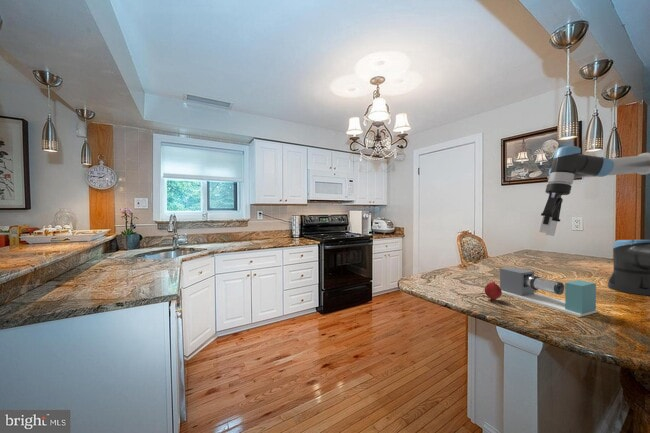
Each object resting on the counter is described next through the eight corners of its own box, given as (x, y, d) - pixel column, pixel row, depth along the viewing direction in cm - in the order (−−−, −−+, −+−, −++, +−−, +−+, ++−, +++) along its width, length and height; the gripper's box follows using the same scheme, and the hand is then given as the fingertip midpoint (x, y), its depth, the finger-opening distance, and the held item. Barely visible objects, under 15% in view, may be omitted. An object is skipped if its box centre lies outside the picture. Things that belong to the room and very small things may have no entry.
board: (514, 289, 113) (514, 287, 113) (597, 312, 87) (597, 309, 87) (497, 292, 109) (497, 290, 109) (579, 316, 83) (579, 314, 83)
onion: (485, 301, 99) (485, 281, 98) (483, 296, 104) (483, 278, 104) (502, 303, 96) (502, 283, 96) (500, 298, 101) (500, 279, 101)
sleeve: (511, 287, 112) (511, 267, 112) (534, 293, 104) (534, 271, 104) (500, 289, 110) (499, 268, 110) (521, 296, 101) (521, 273, 101)
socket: (579, 305, 90) (579, 279, 90) (595, 310, 86) (595, 283, 86) (565, 309, 88) (565, 282, 87) (581, 314, 83) (581, 286, 83)
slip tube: (504, 283, 109) (504, 271, 109) (512, 281, 111) (512, 269, 111) (555, 296, 91) (555, 282, 91) (564, 294, 93) (564, 280, 93)
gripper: (552, 189, 111) (541, 234, 112) (541, 177, 95) (528, 229, 96) (575, 191, 105) (563, 238, 106) (568, 177, 89) (554, 233, 90)
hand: (546, 234), depth 101 cm, fingers open, 13 cm apart
